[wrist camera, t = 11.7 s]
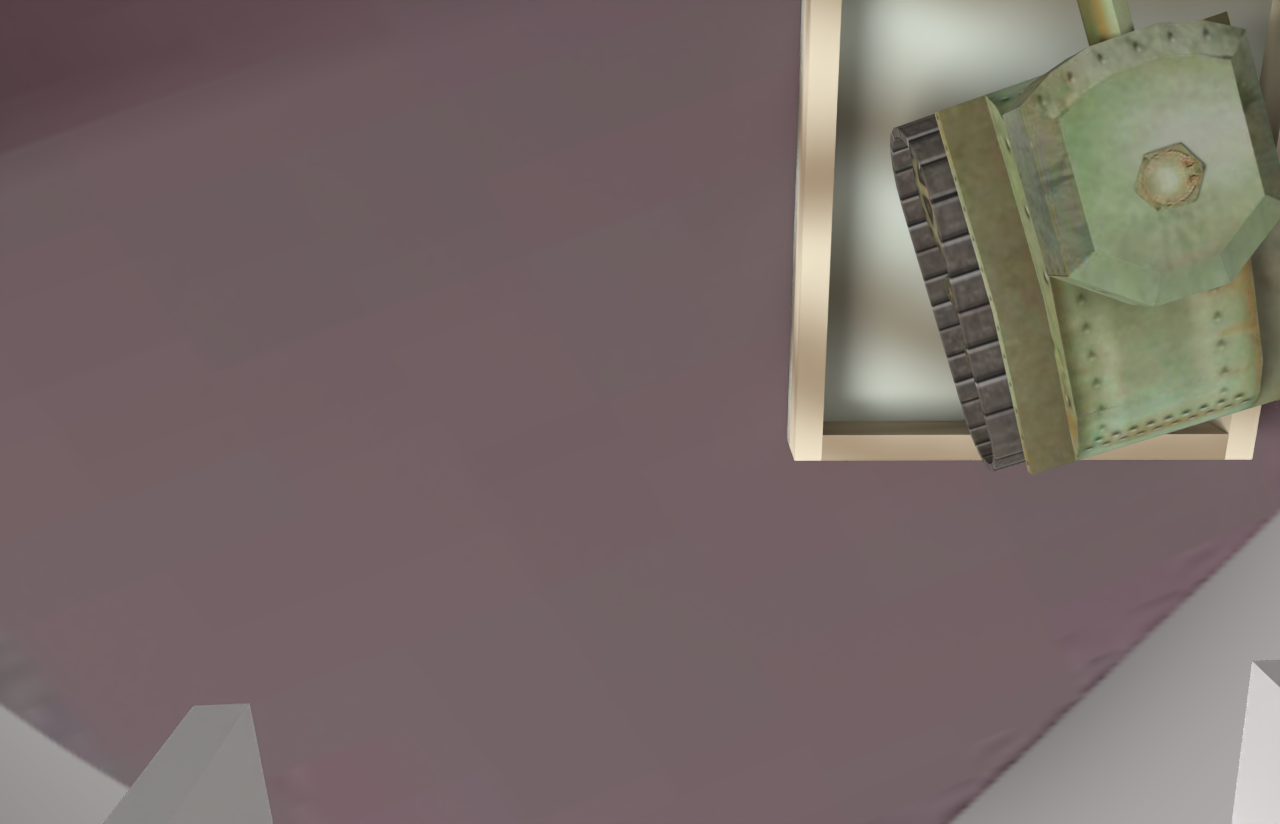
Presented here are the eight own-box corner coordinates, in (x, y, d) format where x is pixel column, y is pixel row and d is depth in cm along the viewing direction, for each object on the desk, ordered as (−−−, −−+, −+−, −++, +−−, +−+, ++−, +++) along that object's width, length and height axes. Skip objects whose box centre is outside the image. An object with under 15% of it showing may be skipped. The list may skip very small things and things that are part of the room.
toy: (1113, -134, 35) (1268, -283, 26) (1248, 377, 38) (1438, 421, 28) (830, -30, 37) (874, -135, 27) (977, 460, 39) (1067, 530, 29)
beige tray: (807, -180, 35) (818, -200, 33) (1319, -188, 35) (1367, -209, 32) (787, 439, 41) (794, 460, 39) (1217, 438, 41) (1251, 459, 39)
